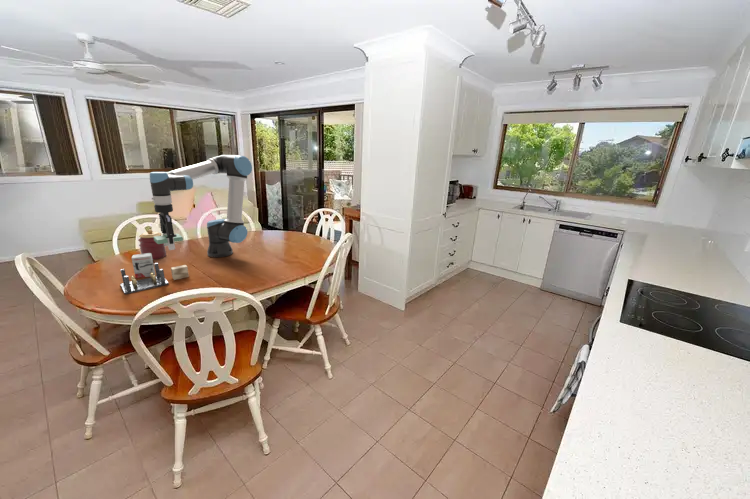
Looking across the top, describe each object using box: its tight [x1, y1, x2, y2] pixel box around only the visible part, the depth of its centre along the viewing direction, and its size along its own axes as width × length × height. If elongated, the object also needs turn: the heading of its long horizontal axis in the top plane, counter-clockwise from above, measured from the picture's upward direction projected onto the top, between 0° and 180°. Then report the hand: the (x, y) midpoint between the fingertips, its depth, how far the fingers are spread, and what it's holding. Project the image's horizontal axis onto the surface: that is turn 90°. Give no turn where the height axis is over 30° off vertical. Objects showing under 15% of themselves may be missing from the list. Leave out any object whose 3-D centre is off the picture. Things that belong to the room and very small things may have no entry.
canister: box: [137, 229, 167, 260], centre depth 193 cm, size 13×13×18 cm
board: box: [154, 233, 184, 244], centre depth 159 cm, size 11×8×3 cm
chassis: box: [119, 262, 170, 295], centre depth 156 cm, size 18×13×8 cm
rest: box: [170, 264, 190, 281], centre depth 167 cm, size 7×3×6 cm, turn 135°
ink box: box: [131, 253, 156, 279], centre depth 166 cm, size 8×5×12 cm, turn 123°
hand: (169, 247), depth 160 cm, fingers closed on board, 8 cm apart
